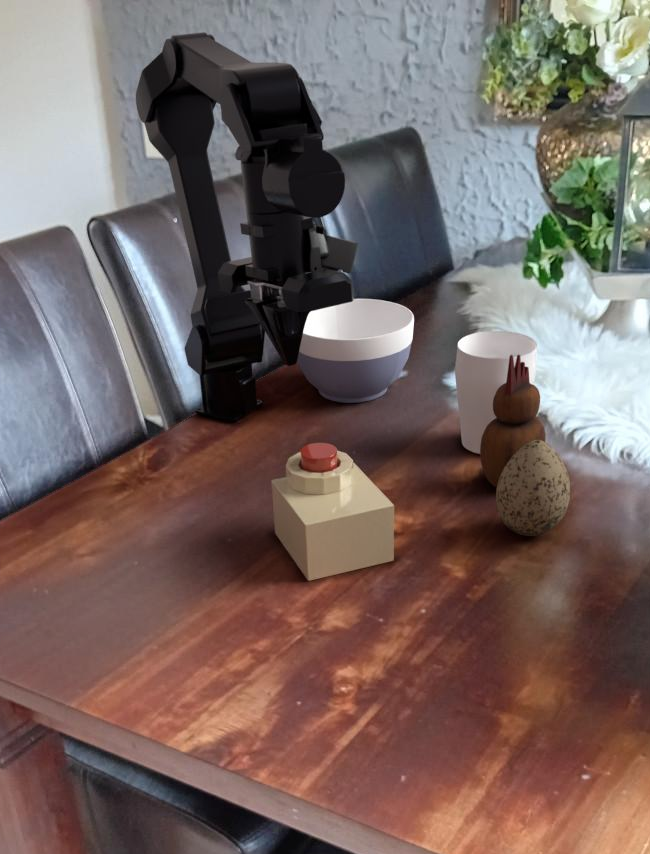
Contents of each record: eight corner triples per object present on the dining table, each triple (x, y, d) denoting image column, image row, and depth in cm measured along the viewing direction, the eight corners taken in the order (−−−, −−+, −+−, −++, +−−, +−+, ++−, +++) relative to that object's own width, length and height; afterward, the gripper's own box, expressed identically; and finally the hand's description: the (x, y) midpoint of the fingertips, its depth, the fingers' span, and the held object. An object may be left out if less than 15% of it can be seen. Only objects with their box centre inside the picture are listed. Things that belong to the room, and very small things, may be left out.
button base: (271, 528, 105) (265, 458, 100) (350, 510, 107) (349, 441, 102) (308, 581, 96) (304, 507, 92) (393, 561, 99) (394, 488, 94)
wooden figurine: (500, 501, 107) (511, 365, 98) (469, 480, 111) (476, 348, 102) (551, 484, 109) (566, 351, 101) (518, 464, 114) (530, 334, 105)
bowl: (309, 421, 126) (306, 346, 121) (281, 376, 139) (277, 307, 133) (429, 403, 129) (431, 329, 123) (391, 361, 141) (391, 292, 136)
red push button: (296, 462, 100) (295, 446, 99) (329, 455, 101) (329, 439, 100) (308, 477, 97) (307, 461, 96) (343, 470, 98) (342, 454, 97)
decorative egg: (479, 525, 103) (485, 435, 97) (537, 508, 105) (546, 419, 100) (519, 557, 98) (528, 464, 92) (580, 538, 100) (592, 447, 94)
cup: (528, 462, 114) (538, 360, 107) (448, 459, 116) (453, 358, 109) (529, 429, 121) (538, 331, 114) (454, 426, 123) (458, 329, 116)
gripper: (394, 202, 97) (401, 363, 104) (297, 193, 111) (310, 335, 119) (294, 221, 92) (310, 388, 100) (207, 209, 107) (226, 356, 114)
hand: (290, 364), depth 108 cm, fingers closed
